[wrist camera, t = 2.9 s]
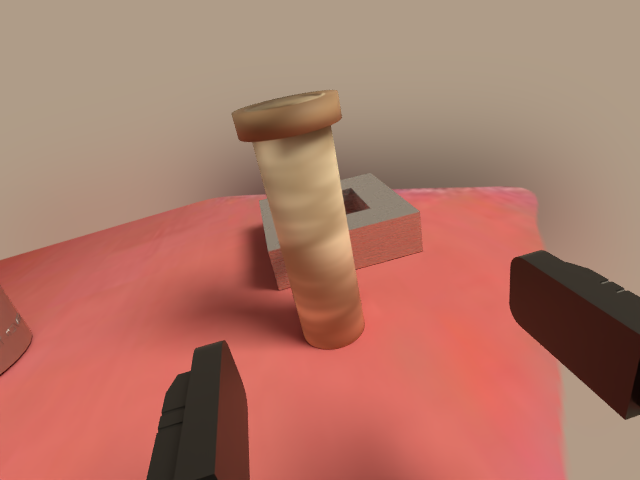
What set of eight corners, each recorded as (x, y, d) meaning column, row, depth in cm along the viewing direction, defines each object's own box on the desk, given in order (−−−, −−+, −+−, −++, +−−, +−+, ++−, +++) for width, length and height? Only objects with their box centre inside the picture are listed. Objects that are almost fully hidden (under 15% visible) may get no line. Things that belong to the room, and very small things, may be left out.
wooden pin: (300, 366, 22) (230, 120, 16) (289, 314, 26) (231, 108, 20) (385, 341, 22) (350, 93, 16) (360, 294, 27) (325, 87, 21)
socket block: (278, 290, 29) (268, 251, 28) (267, 230, 40) (259, 200, 39) (422, 250, 31) (420, 211, 29) (374, 203, 41) (370, 172, 40)
